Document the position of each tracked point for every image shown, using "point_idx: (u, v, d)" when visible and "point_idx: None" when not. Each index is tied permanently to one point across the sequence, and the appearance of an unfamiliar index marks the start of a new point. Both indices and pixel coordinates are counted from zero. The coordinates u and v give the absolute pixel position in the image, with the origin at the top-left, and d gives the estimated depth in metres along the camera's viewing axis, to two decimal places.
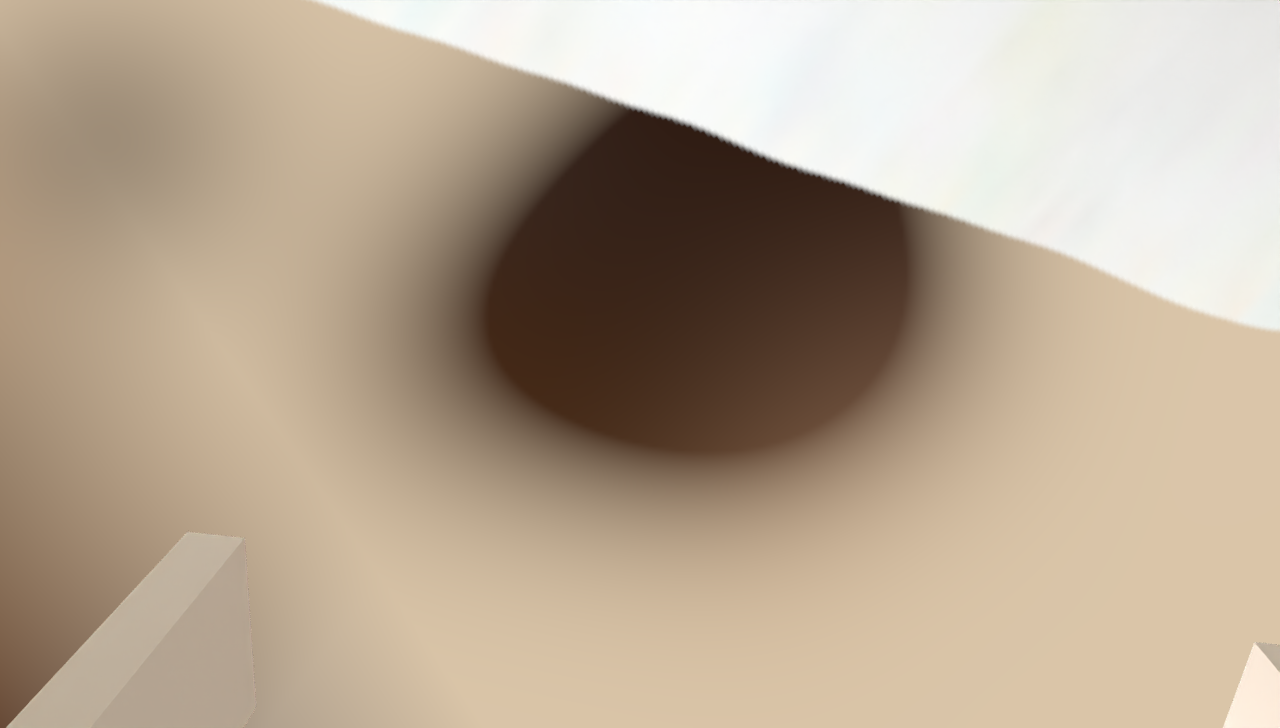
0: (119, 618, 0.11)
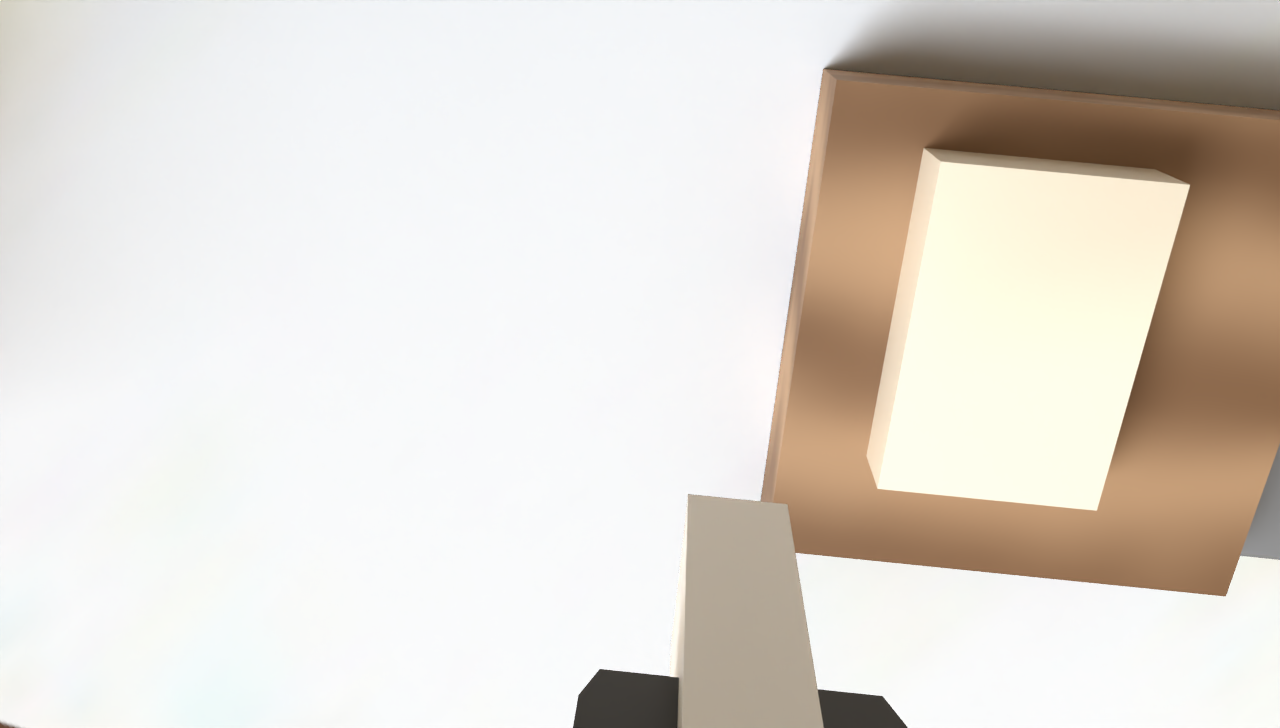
0: (697, 562, 0.13)
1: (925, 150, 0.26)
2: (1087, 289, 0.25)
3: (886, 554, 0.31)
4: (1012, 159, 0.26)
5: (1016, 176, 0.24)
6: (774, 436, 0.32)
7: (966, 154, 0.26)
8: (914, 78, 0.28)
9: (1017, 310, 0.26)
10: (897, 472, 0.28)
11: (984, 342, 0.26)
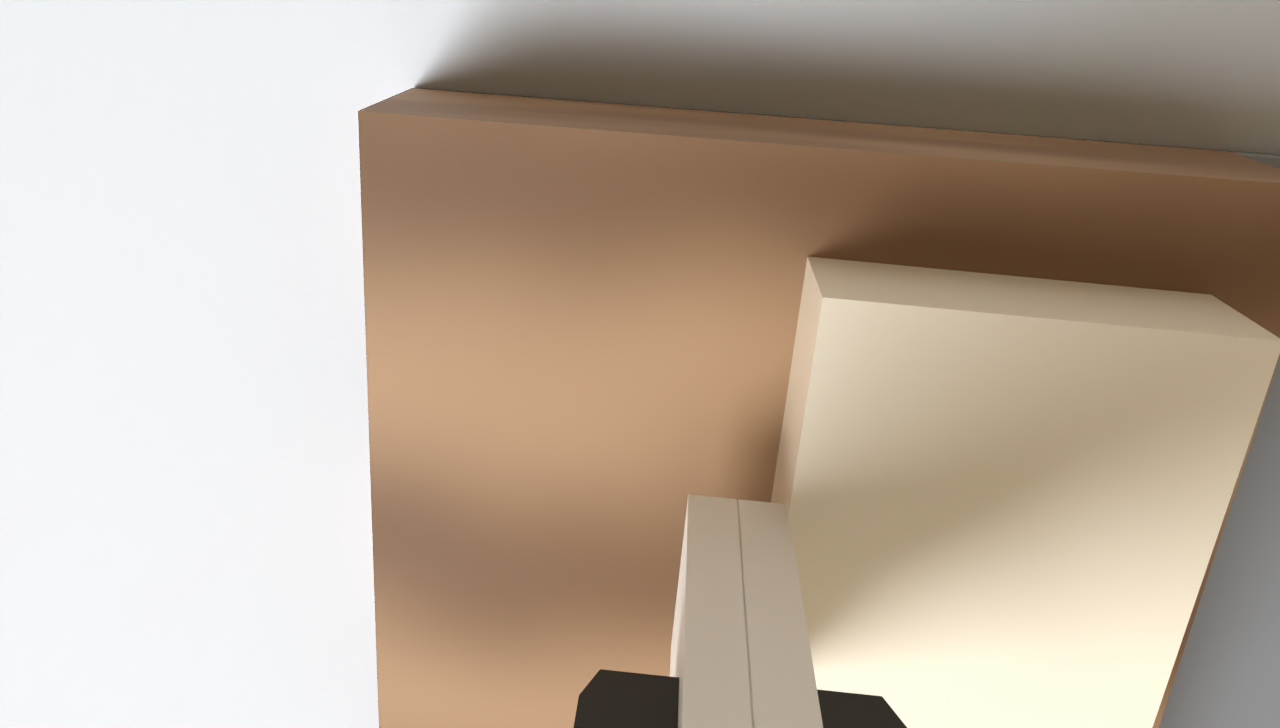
0: (697, 562, 0.13)
1: (809, 263, 0.15)
2: (1093, 516, 0.14)
3: None
4: (960, 281, 0.15)
5: (963, 324, 0.13)
6: None
7: (879, 271, 0.15)
8: (552, 102, 0.17)
9: (968, 548, 0.14)
10: None
11: (911, 599, 0.15)
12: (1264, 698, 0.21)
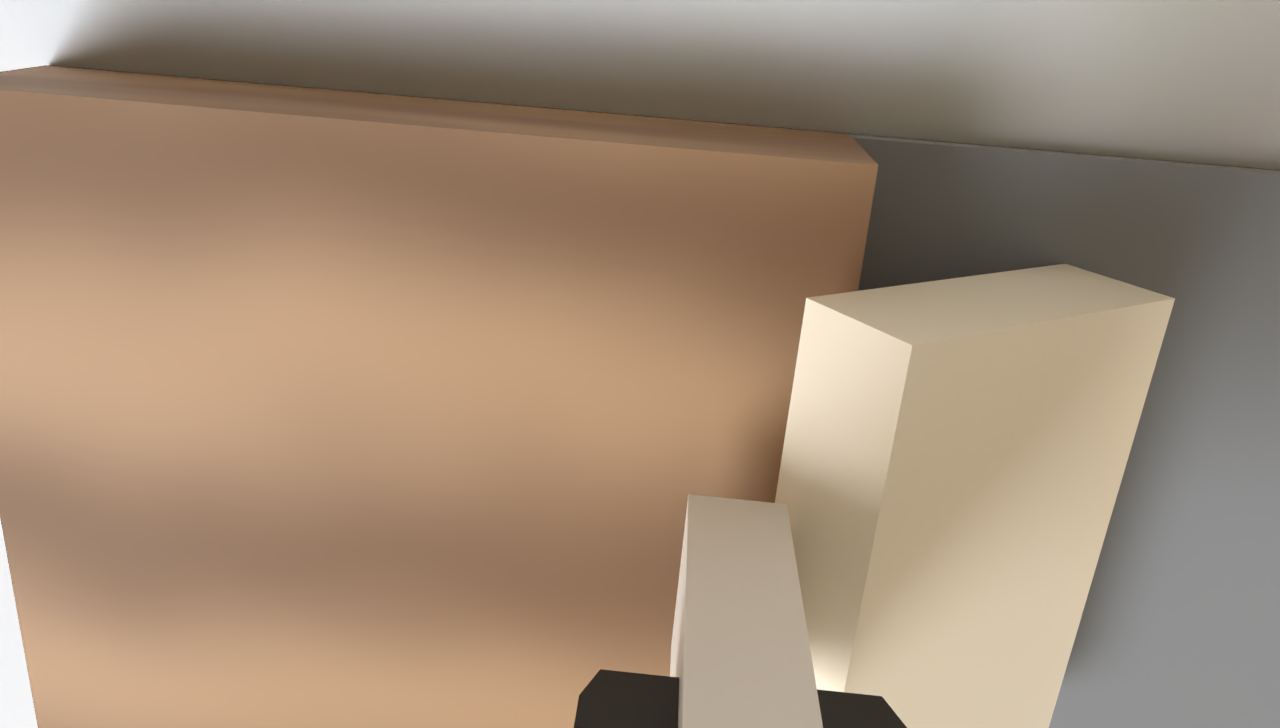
0: (697, 562, 0.13)
1: (818, 305, 0.14)
2: (1063, 478, 0.16)
3: None
4: (939, 294, 0.15)
5: (1004, 341, 0.14)
6: None
7: (880, 300, 0.14)
8: (175, 80, 0.17)
9: (988, 540, 0.15)
10: None
11: (948, 603, 0.15)
12: None
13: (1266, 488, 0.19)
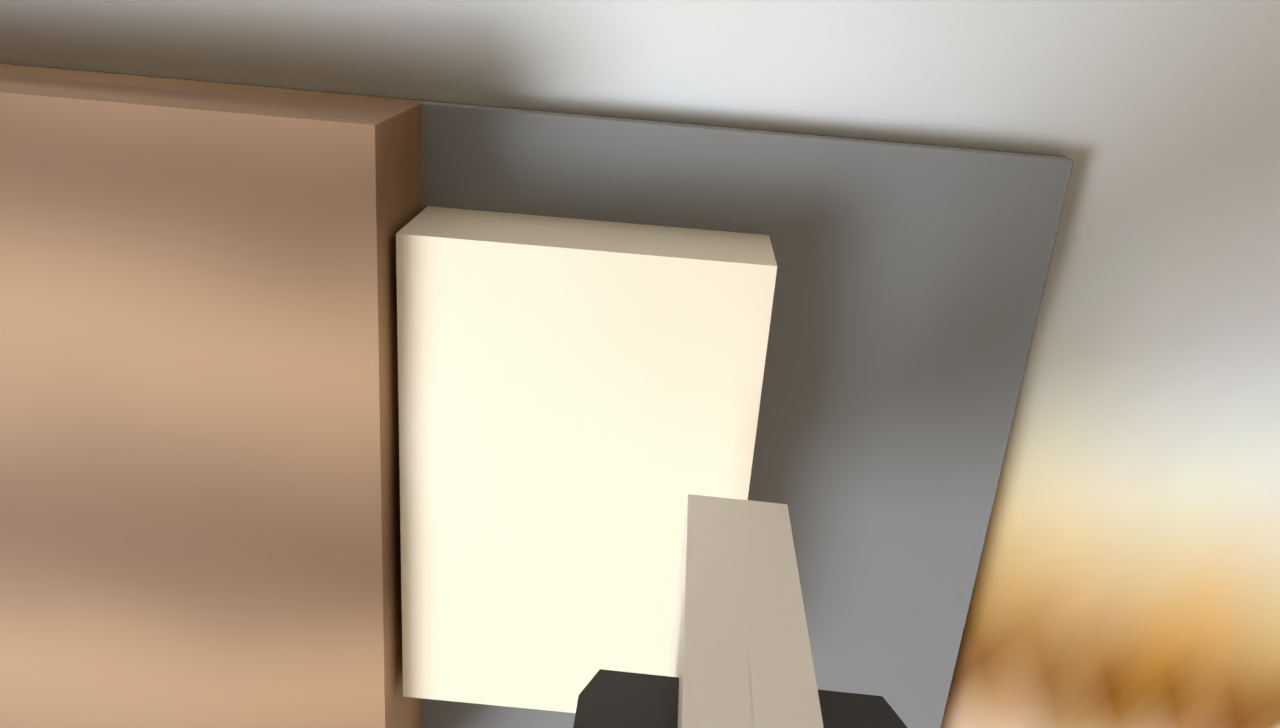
0: (697, 562, 0.13)
1: (423, 210, 0.17)
2: (650, 420, 0.17)
3: None
4: (545, 224, 0.17)
5: (514, 255, 0.16)
6: None
7: (479, 216, 0.17)
8: None
9: (551, 450, 0.17)
10: (426, 674, 0.19)
11: (513, 497, 0.17)
12: None
13: (872, 455, 0.19)
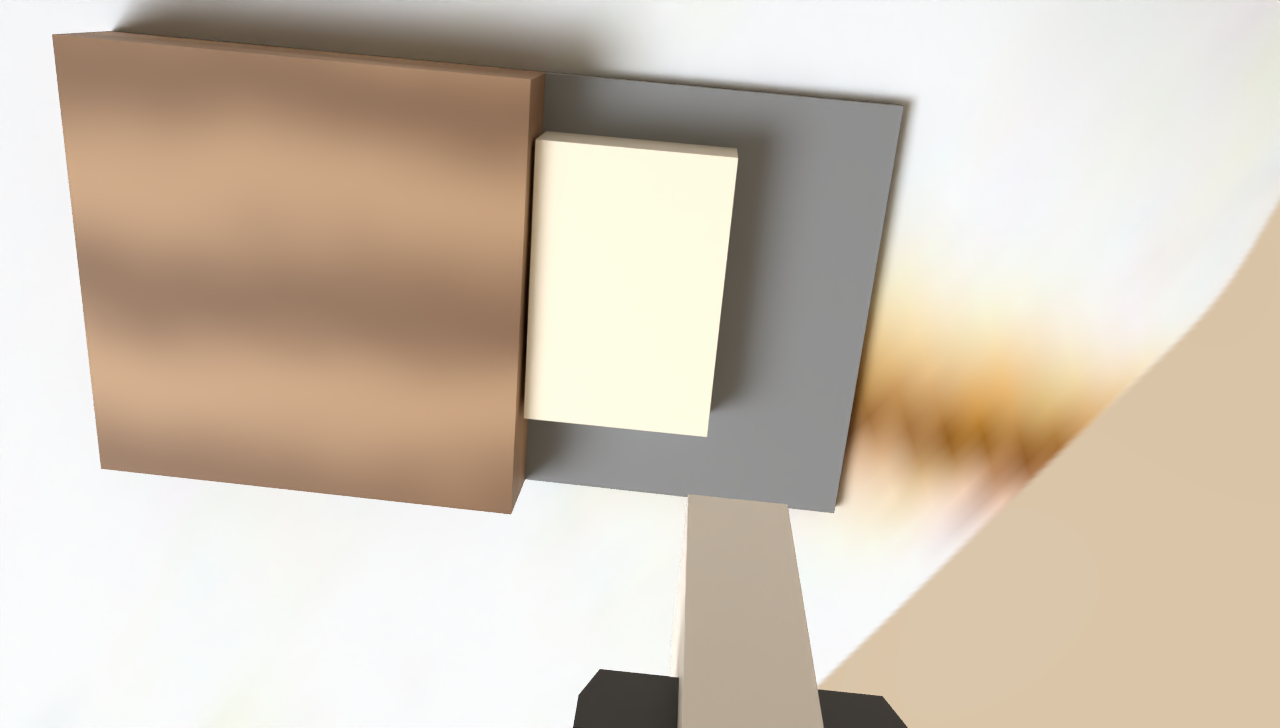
0: (697, 562, 0.13)
1: (544, 132, 0.31)
2: (669, 246, 0.31)
3: (206, 473, 0.34)
4: (612, 139, 0.31)
5: (598, 151, 0.30)
6: None
7: (576, 135, 0.31)
8: (181, 39, 0.32)
9: (615, 263, 0.31)
10: (538, 403, 0.33)
11: (592, 291, 0.31)
12: None
13: (797, 280, 0.33)
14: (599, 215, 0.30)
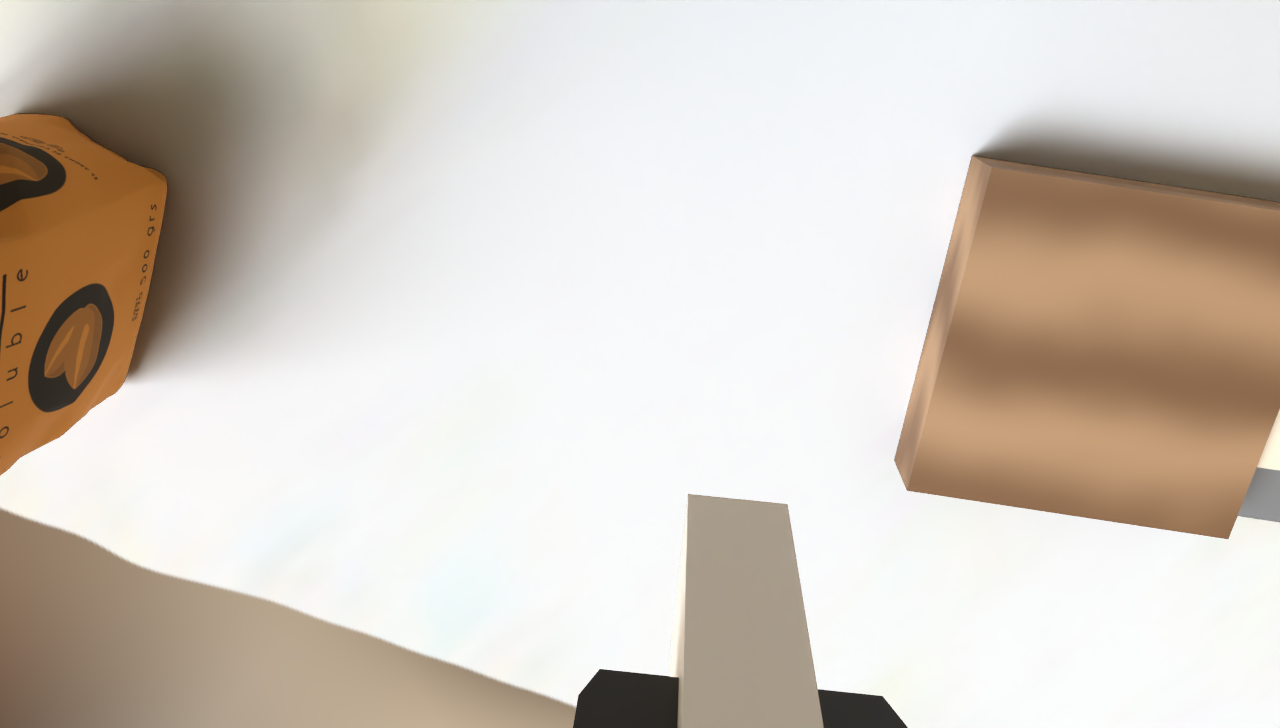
0: (697, 562, 0.13)
1: None
2: None
3: (992, 498, 0.43)
4: None
5: None
6: (914, 411, 0.44)
7: None
8: (1035, 166, 0.41)
9: None
10: (1266, 456, 0.43)
11: None
12: None
13: None
14: None
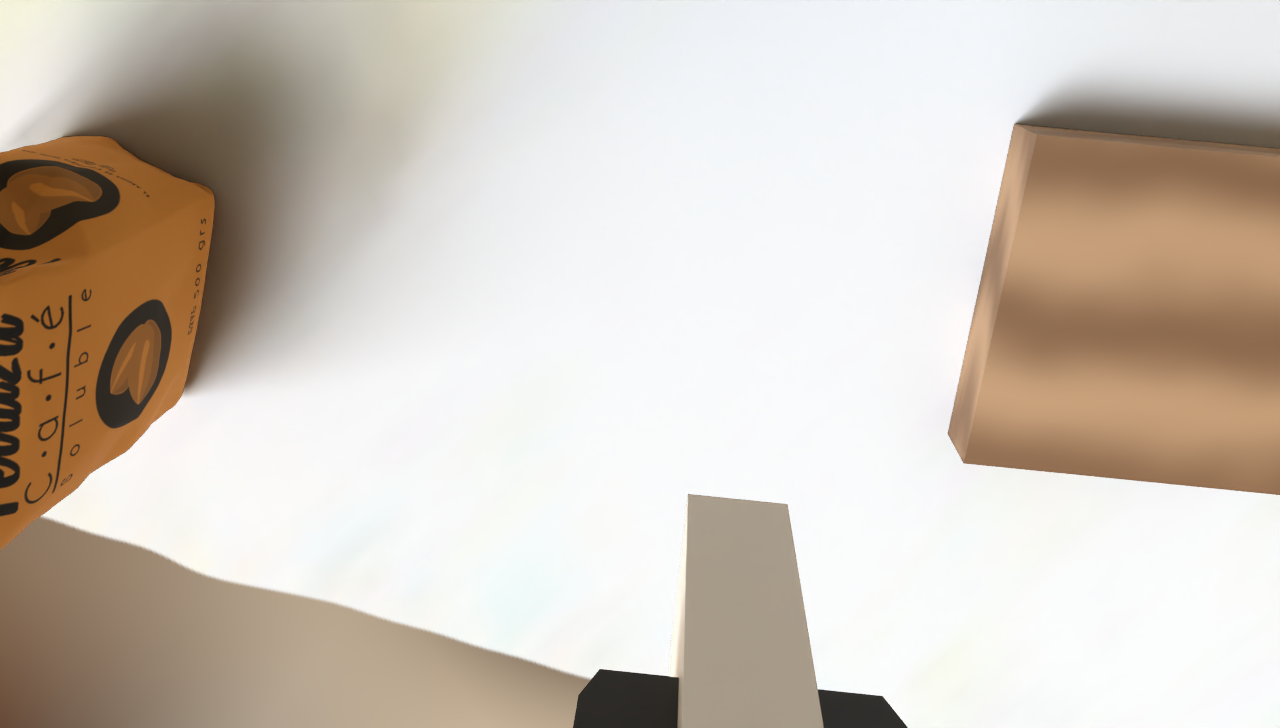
0: (697, 562, 0.13)
1: None
2: None
3: (1050, 466, 0.43)
4: None
5: None
6: (966, 383, 0.44)
7: None
8: (1079, 131, 0.41)
9: None
10: None
11: None
12: None
13: None
14: None
